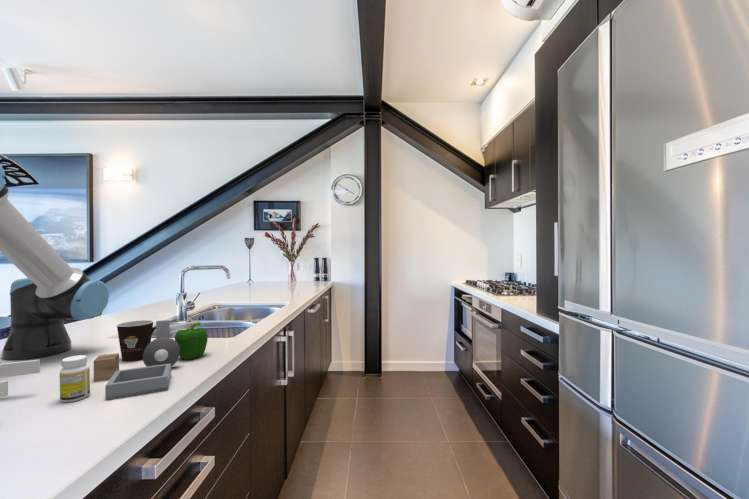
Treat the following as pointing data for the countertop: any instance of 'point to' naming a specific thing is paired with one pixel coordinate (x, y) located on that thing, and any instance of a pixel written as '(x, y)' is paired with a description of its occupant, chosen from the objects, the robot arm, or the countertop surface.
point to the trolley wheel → (161, 347)
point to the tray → (138, 381)
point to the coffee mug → (134, 339)
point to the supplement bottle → (74, 379)
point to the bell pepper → (191, 341)
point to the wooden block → (105, 366)
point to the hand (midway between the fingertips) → (24, 376)
